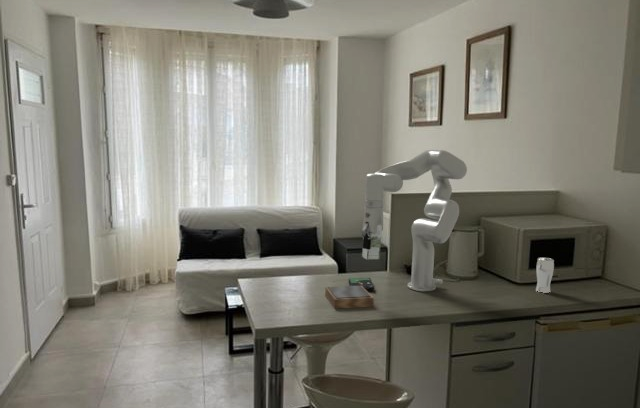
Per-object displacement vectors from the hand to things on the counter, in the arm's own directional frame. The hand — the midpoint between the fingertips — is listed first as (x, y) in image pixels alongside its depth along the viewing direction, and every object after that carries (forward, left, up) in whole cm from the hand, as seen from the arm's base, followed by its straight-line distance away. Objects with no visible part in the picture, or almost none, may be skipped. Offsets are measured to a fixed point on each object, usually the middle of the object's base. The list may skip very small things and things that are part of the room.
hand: (371, 246), depth 192 cm
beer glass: (-82, 0, -23) cm, 85 cm away
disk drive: (-2, -18, -23) cm, 30 cm away
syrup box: (0, 0, -5) cm, 5 cm away
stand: (+9, 0, -22) cm, 24 cm away
